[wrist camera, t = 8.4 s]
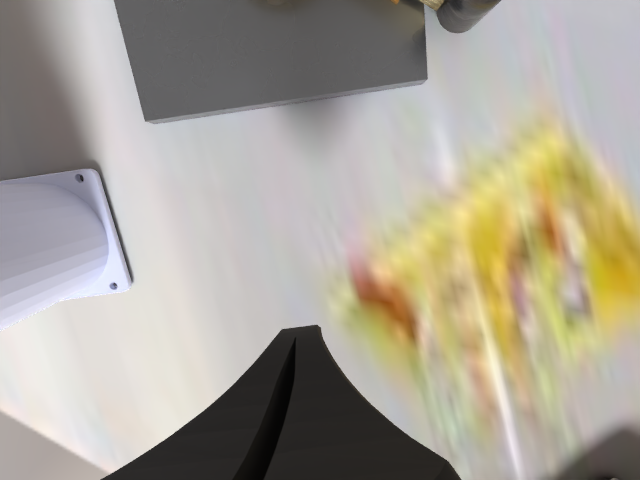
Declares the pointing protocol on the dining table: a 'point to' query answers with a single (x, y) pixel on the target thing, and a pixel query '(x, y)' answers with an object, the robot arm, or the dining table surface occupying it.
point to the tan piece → (460, 12)
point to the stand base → (267, 52)
